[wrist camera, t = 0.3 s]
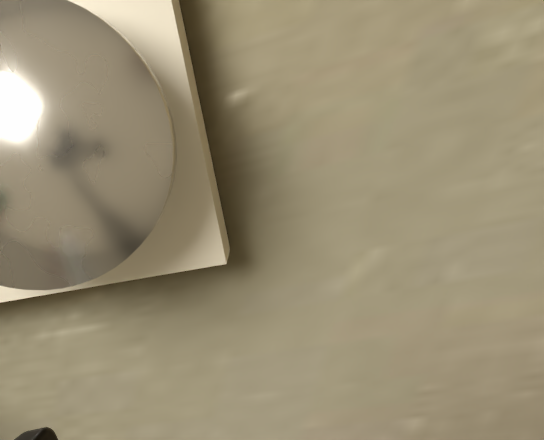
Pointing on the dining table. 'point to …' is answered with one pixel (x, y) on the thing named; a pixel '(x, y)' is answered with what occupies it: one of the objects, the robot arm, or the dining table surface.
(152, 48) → the kitchen scale
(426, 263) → the dining table surface
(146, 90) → the scale pan
